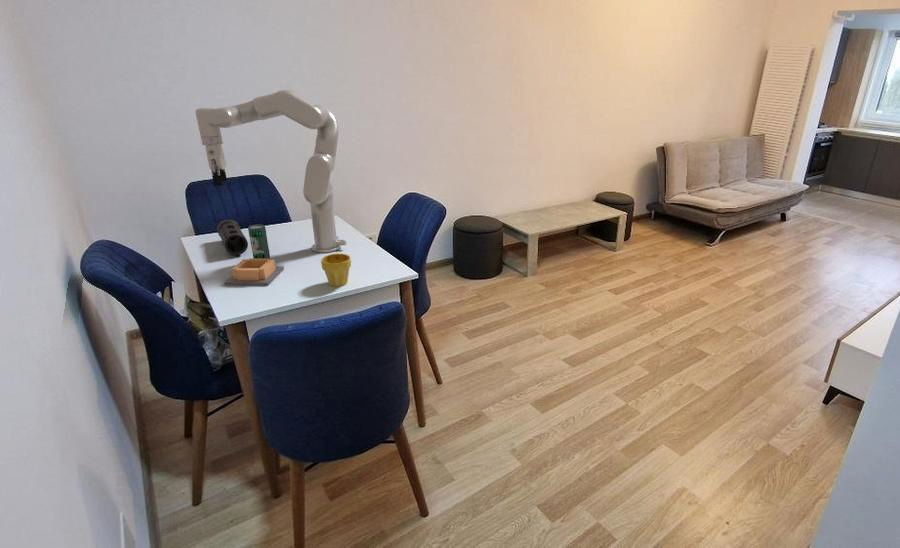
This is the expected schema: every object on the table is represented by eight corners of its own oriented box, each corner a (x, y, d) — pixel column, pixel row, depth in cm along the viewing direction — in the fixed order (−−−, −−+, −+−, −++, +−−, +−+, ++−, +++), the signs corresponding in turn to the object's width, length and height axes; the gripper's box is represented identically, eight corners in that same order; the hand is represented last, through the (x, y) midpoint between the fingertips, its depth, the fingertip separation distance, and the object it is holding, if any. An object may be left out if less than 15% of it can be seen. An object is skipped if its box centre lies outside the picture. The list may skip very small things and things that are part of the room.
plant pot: (338, 291, 162) (335, 265, 158) (317, 284, 167) (314, 259, 163) (358, 281, 170) (356, 256, 166) (338, 275, 175) (335, 251, 171)
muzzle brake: (226, 259, 192) (221, 235, 188) (219, 241, 214) (214, 219, 210) (250, 255, 196) (246, 232, 192) (241, 237, 218) (237, 216, 214)
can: (251, 262, 188) (245, 227, 182) (264, 258, 193) (258, 223, 187) (260, 265, 185) (254, 229, 179) (273, 260, 190) (267, 226, 184)
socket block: (284, 269, 181) (282, 256, 179) (268, 285, 166) (265, 272, 164) (244, 268, 182) (242, 256, 180) (224, 285, 167) (222, 272, 165)
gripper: (218, 142, 177) (227, 186, 184) (225, 138, 192) (233, 178, 199) (196, 143, 175) (206, 188, 182) (206, 138, 190) (215, 179, 197)
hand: (220, 183), depth 190 cm, fingers open, 9 cm apart
